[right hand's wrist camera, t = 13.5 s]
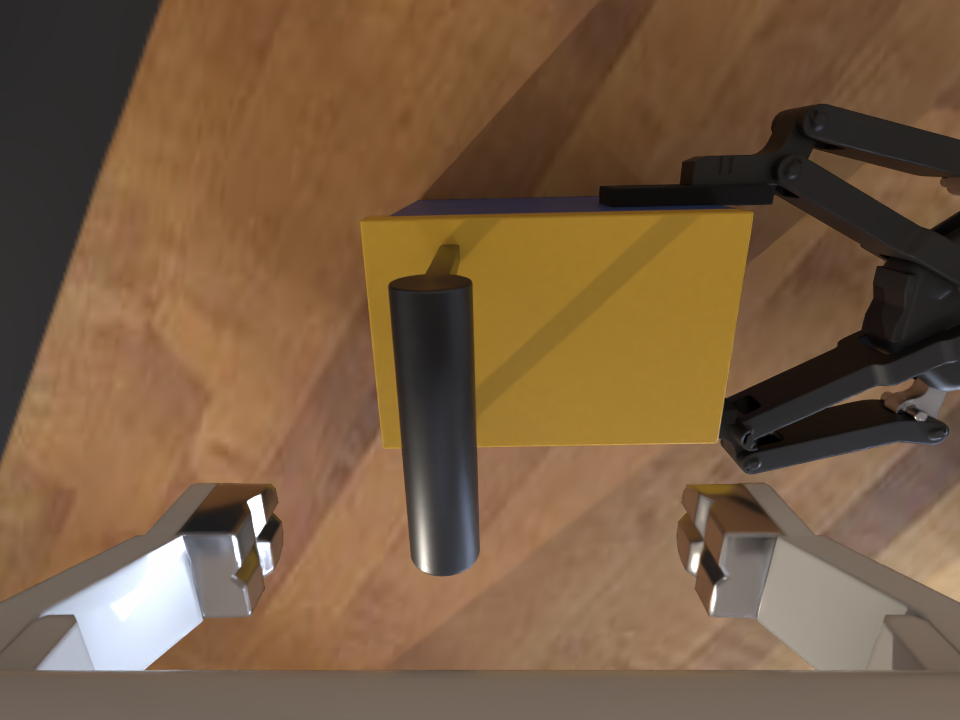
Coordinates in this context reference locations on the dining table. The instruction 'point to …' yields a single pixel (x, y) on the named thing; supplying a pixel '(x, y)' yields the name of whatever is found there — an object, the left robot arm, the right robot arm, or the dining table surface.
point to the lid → (543, 343)
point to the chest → (526, 206)
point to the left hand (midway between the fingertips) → (599, 309)
